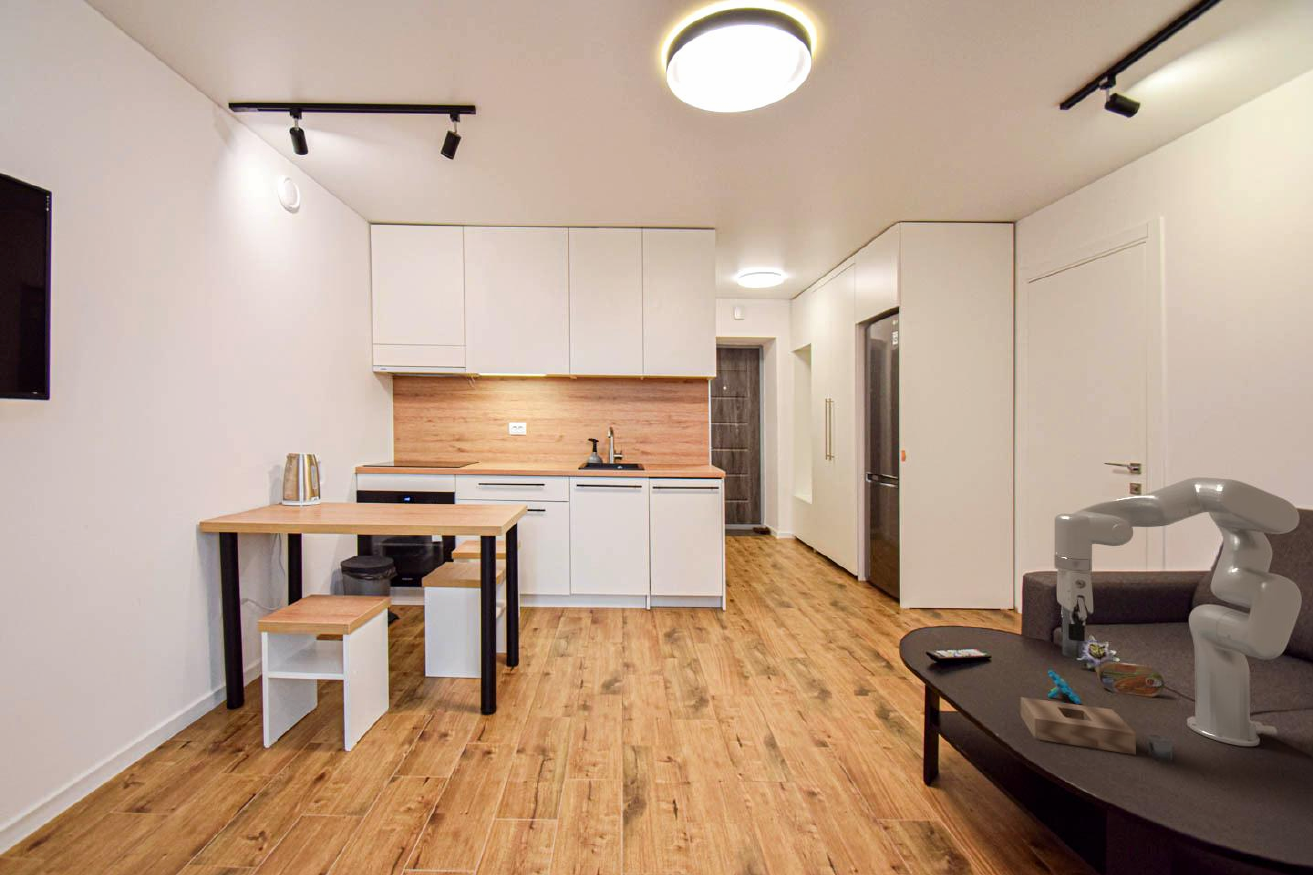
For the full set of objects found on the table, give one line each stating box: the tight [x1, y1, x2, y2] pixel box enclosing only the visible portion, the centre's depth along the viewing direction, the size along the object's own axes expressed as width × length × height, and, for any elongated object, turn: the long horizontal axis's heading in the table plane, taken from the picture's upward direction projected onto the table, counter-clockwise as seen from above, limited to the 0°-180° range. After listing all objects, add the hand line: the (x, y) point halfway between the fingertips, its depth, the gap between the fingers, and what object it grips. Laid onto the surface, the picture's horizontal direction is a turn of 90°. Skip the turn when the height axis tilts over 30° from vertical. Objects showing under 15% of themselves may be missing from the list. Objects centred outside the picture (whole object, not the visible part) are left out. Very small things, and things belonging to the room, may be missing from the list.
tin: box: [1096, 661, 1165, 698], centre depth 159 cm, size 15×3×8 cm, turn 68°
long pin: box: [1062, 606, 1083, 659], centre depth 136 cm, size 4×4×14 cm
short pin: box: [1148, 734, 1173, 763], centre depth 126 cm, size 4×4×4 cm
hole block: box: [1020, 696, 1137, 755], centre depth 136 cm, size 20×12×5 cm, turn 70°
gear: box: [1047, 669, 1082, 705], centre depth 155 cm, size 11×6×10 cm
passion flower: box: [1074, 635, 1121, 673], centre depth 177 cm, size 11×11×12 cm
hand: (1072, 636), depth 136 cm, fingers closed on long pin, 4 cm apart
